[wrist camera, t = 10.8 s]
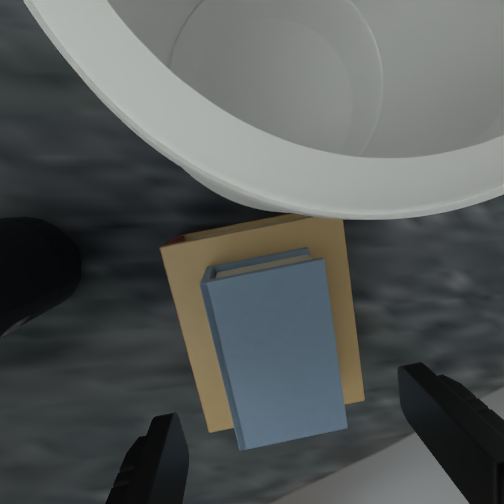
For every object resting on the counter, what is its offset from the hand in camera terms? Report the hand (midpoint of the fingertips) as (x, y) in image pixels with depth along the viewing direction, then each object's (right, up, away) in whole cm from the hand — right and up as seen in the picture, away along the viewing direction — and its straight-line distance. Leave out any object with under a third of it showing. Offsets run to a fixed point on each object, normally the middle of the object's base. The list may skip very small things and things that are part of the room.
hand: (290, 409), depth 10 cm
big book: (-1, +2, +10) cm, 11 cm away
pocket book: (0, +1, +6) cm, 6 cm away
